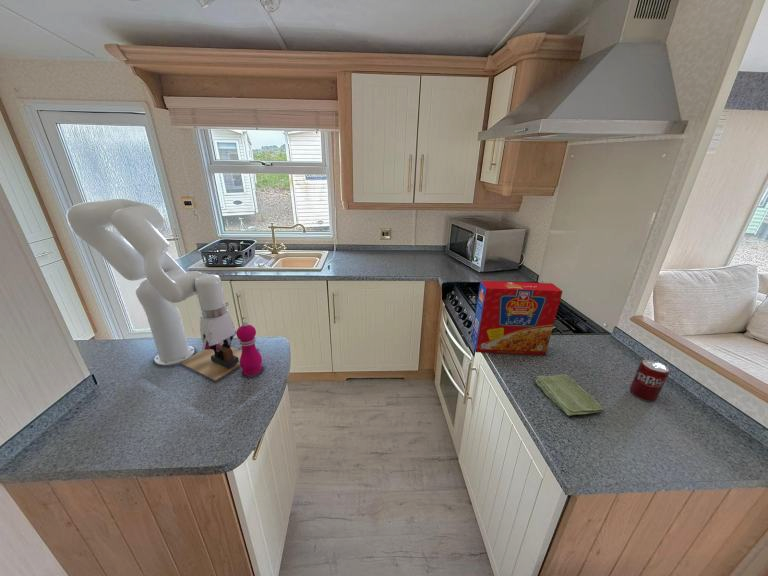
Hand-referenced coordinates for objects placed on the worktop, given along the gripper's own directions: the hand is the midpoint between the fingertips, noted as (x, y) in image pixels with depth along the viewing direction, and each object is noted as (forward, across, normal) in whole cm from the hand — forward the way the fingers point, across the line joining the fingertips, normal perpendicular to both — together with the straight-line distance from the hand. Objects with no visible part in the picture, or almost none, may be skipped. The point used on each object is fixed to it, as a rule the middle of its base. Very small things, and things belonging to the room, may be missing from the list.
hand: (223, 356), depth 110 cm
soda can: (+5, -57, +134) cm, 145 cm away
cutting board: (+4, 0, -4) cm, 6 cm away
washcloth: (+5, -43, +111) cm, 119 cm away
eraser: (+2, 0, 0) cm, 2 cm away
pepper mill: (+4, -2, +12) cm, 13 cm away
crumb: (+4, -10, -2) cm, 11 cm away
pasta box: (+5, -64, +90) cm, 110 cm away
